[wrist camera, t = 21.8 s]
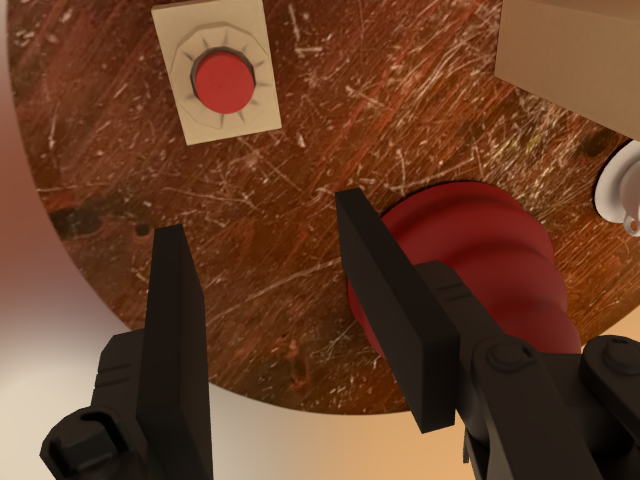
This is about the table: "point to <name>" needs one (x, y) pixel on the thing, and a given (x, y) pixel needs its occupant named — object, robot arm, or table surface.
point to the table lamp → (486, 260)
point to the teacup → (621, 188)
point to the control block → (209, 36)
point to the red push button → (223, 82)
